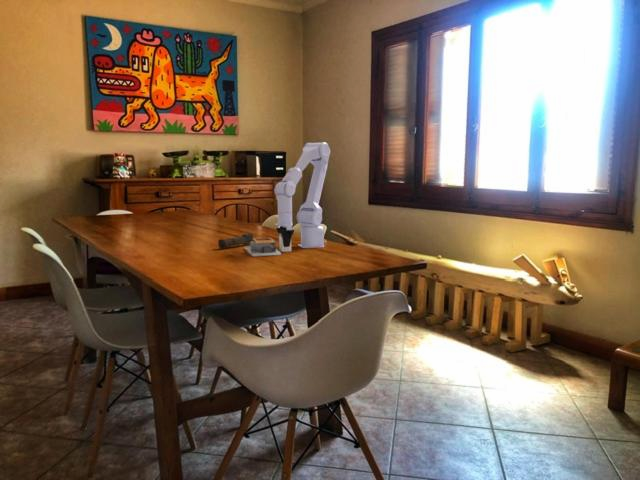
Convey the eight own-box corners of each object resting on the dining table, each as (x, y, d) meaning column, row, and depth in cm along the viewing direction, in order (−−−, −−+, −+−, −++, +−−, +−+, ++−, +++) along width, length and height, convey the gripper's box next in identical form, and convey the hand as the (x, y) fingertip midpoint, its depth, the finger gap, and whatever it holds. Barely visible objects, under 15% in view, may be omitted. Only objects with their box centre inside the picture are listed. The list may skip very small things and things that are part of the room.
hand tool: (223, 249, 208) (224, 238, 207) (217, 247, 211) (217, 236, 210) (257, 244, 223) (258, 233, 222) (251, 242, 225) (252, 232, 224)
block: (288, 249, 210) (288, 232, 208) (291, 251, 206) (291, 233, 205) (279, 250, 208) (279, 233, 207) (281, 251, 205) (281, 234, 204)
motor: (270, 247, 214) (270, 235, 214) (280, 254, 197) (280, 242, 197) (244, 249, 211) (244, 236, 210) (252, 256, 194) (252, 243, 193)
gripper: (271, 210, 210) (271, 243, 212) (279, 214, 197) (279, 249, 199) (287, 210, 213) (288, 242, 214) (297, 213, 199) (297, 248, 201)
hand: (285, 245), depth 207 cm, fingers closed on block, 4 cm apart
